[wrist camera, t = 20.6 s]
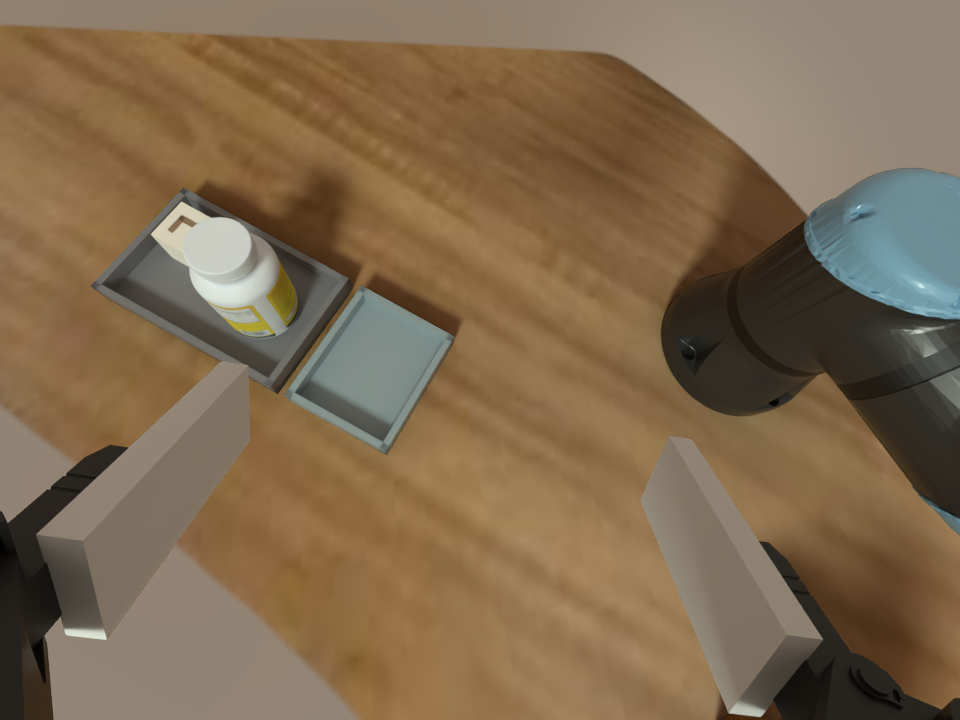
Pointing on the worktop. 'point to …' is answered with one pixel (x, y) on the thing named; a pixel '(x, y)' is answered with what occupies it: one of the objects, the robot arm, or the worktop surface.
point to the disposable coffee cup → (743, 717)
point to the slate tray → (371, 369)
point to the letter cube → (177, 230)
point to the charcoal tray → (188, 316)
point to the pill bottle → (240, 278)
